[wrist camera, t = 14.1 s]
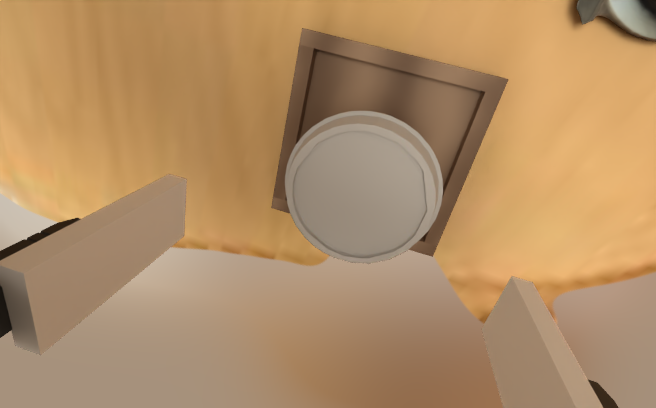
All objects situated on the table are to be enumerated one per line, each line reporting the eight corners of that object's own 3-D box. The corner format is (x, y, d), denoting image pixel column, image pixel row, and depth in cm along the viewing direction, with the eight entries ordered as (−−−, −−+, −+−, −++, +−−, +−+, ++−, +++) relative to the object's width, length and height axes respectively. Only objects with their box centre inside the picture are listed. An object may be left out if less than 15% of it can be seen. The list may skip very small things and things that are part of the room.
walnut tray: (278, 200, 35) (271, 207, 33) (308, 29, 29) (302, 27, 27) (431, 246, 34) (432, 256, 32) (501, 78, 27) (508, 79, 25)
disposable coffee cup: (403, 213, 32) (402, 292, 21) (309, 176, 33) (262, 235, 22) (450, 116, 28) (478, 152, 17) (342, 76, 29) (303, 87, 18)
